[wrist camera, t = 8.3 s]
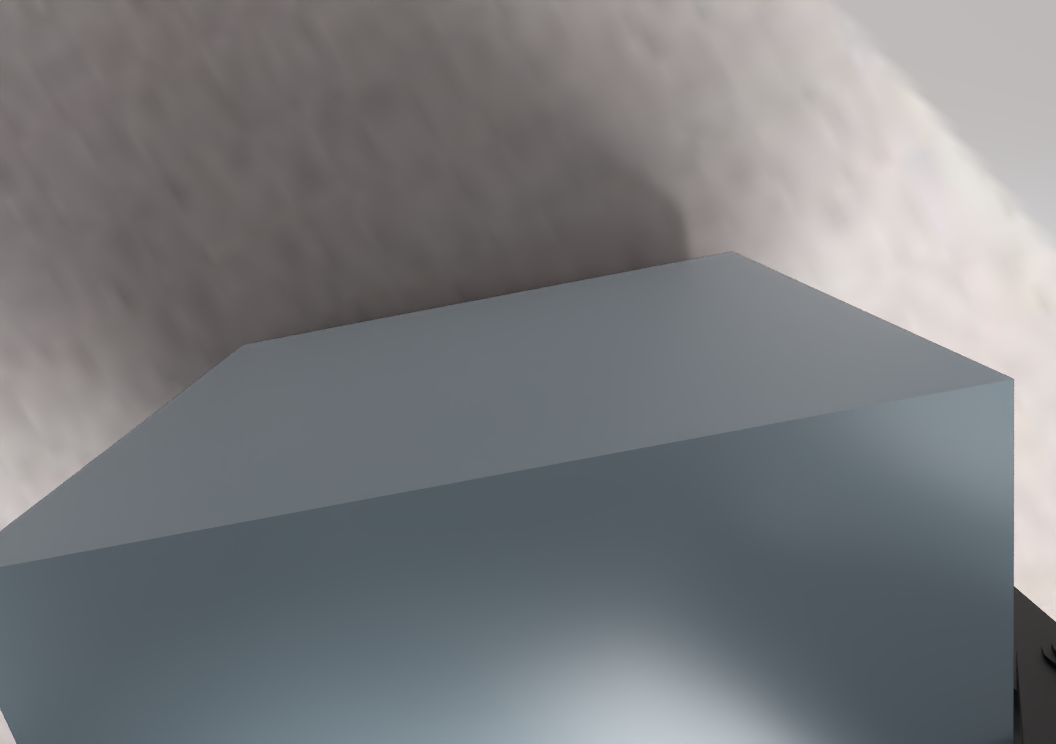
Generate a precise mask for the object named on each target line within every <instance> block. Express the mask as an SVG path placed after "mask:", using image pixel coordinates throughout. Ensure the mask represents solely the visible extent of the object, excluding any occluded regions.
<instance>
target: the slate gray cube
mask: <svg viewBox="0 0 1056 744" xmlns="http://www.w3.org/2000/svg"><path fill="white" fill-rule="evenodd" d="M1013 646H1014V379H1013V378H1011V377H1008V376H1006V375H1004V374H1002V373H1000V372H997V371H995V370H993V369H991V368H989V367H986V366H984V365H982V364H980V363H978V362H975V361H973V360H971V359H969V358H967V357H964V356H962V355H960V354H958V353H956V352H953V351H951V350H949V349H947V348H945V347H942V346H940V345H938V344H936V343H933V342H931V341H929V340H927V339H925V338H922V337H920V336H918V335H916V334H914V333H911V332H909V331H907V330H905V329H903V328H900V327H898V326H896V325H894V324H892V323H889V322H887V321H885V320H883V319H881V318H878V317H876V316H874V315H872V314H870V313H867V312H865V311H863V310H861V309H859V308H856V307H854V306H852V305H850V304H848V303H845V302H843V301H841V300H839V299H837V298H834V297H832V296H830V295H828V294H825V293H823V292H821V291H819V290H817V289H814V288H812V287H810V286H808V285H806V284H803V283H801V282H799V281H797V280H795V279H792V278H790V277H788V276H786V275H784V274H781V273H779V272H777V271H775V270H773V269H770V268H768V267H766V266H764V265H762V264H759V263H757V262H755V261H753V260H751V259H748V258H746V257H744V256H742V255H740V254H737V253H735V252H733V251H732V252H727V253H722V254H716V255H711V256H706V257H701V258H695V259H690V260H685V261H680V262H674V263H669V264H664V265H659V266H653V267H648V268H643V269H638V270H632V271H627V272H622V273H617V274H611V275H606V276H601V277H596V278H590V279H585V280H580V281H575V282H570V283H564V284H559V285H554V286H549V287H543V288H538V289H533V290H528V291H522V292H517V293H512V294H507V295H501V296H496V297H491V298H486V299H480V300H475V301H470V302H465V303H459V304H454V305H449V306H444V307H438V308H433V309H428V310H423V311H417V312H412V313H407V314H402V315H396V316H391V317H386V318H381V319H375V320H370V321H365V322H360V323H354V324H349V325H344V326H339V327H333V328H328V329H323V330H318V331H312V332H307V333H302V334H297V335H291V336H286V337H281V338H276V339H270V340H265V341H260V342H255V343H249V344H244V345H242V346H241V347H240V348H238V349H237V350H236V351H235V352H233V353H232V354H231V355H229V356H228V357H227V358H225V359H224V360H223V361H222V362H220V363H219V364H218V365H216V366H215V367H214V368H212V369H211V370H210V371H209V372H207V373H206V374H205V375H203V376H202V377H201V378H199V379H198V380H197V381H195V382H194V383H193V384H192V385H190V386H189V387H188V388H186V389H185V390H184V391H182V392H181V393H180V394H179V395H177V396H176V397H175V398H173V399H172V400H171V401H169V402H168V403H167V404H166V405H164V406H163V407H162V408H160V409H159V410H158V411H156V412H155V413H154V414H152V415H151V416H150V417H149V418H147V419H146V420H145V421H143V422H142V423H141V424H139V425H138V426H137V427H136V428H134V429H133V430H132V431H130V432H129V433H128V434H126V435H125V436H124V437H122V438H121V439H120V440H119V441H117V442H116V443H115V444H113V445H112V446H111V447H109V448H108V449H107V450H106V451H104V452H103V453H102V454H100V455H99V456H98V457H96V458H95V459H94V460H93V461H91V462H90V463H89V464H87V465H86V466H85V467H83V468H82V469H81V470H79V471H78V472H77V473H76V474H74V475H73V476H72V477H70V478H69V479H68V480H66V481H65V482H64V483H63V484H61V485H60V486H59V487H57V488H56V489H55V490H53V491H52V492H51V493H50V494H48V495H47V496H46V497H44V498H43V499H42V500H40V501H39V502H38V503H36V504H35V505H34V506H33V507H31V508H30V509H29V510H27V511H26V512H25V513H23V514H22V515H21V516H20V517H18V518H17V519H16V520H14V521H13V522H12V523H10V524H9V525H8V526H6V527H5V528H4V529H3V530H1V531H0V709H1V711H2V713H3V715H4V718H5V720H6V722H7V724H8V726H9V728H10V730H11V732H12V734H13V737H14V739H15V741H16V743H17V744H1013Z"/></svg>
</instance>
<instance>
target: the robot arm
mask: <svg viewBox="0 0 1056 744" xmlns="http://www.w3.org/2000/svg"><path fill="white" fill-rule="evenodd" d="M1013 744H1056V622H1055V621H1054V620H1053V619H1052V618H1050V617H1049V616H1048V615H1047V614H1046V613H1045V612H1043V611H1042V610H1041V609H1040V608H1039V607H1038V606H1036V605H1035V604H1034V603H1033V602H1032V601H1031V600H1029V599H1028V598H1027V597H1026V596H1025V595H1024V594H1022V593H1021V592H1020V591H1019V590H1018V589H1017V588H1015V587H1014V646H1013Z"/></svg>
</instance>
